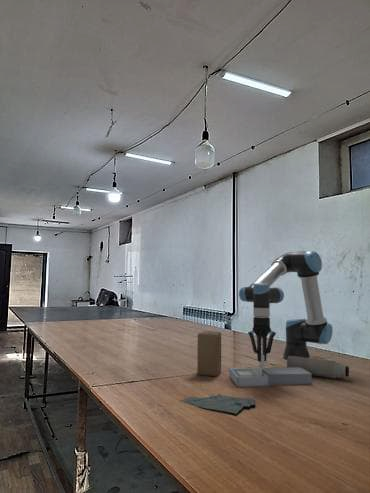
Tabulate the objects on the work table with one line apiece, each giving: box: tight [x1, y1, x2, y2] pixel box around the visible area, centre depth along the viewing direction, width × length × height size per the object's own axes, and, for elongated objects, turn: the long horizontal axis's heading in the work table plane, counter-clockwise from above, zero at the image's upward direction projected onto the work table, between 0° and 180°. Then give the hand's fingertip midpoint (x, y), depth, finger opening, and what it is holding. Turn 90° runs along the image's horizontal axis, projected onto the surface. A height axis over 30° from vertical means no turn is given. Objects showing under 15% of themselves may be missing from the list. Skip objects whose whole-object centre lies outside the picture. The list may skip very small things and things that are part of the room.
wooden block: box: [196, 330, 222, 377], centre depth 182 cm, size 10×10×20 cm
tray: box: [228, 367, 270, 388], centre depth 168 cm, size 14×16×4 cm
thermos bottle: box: [286, 356, 350, 379], centre depth 179 cm, size 8×8×28 cm
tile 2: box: [251, 364, 262, 377], centre depth 168 cm, size 6×6×3 cm
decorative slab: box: [180, 393, 256, 417], centre depth 136 cm, size 26×24×2 cm
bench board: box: [262, 367, 313, 386], centre depth 170 cm, size 20×12×4 cm, turn 96°
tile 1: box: [237, 372, 254, 377], centre depth 168 cm, size 6×6×3 cm
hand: (262, 368), depth 169 cm, fingers closed
